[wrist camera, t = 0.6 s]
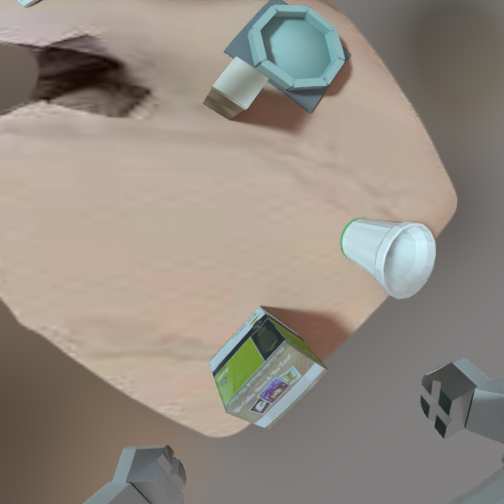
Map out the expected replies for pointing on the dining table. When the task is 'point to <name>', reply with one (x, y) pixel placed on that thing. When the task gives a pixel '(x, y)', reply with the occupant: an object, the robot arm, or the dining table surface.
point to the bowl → (296, 47)
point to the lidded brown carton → (235, 89)
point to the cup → (391, 253)
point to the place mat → (243, 51)
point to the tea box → (264, 370)
